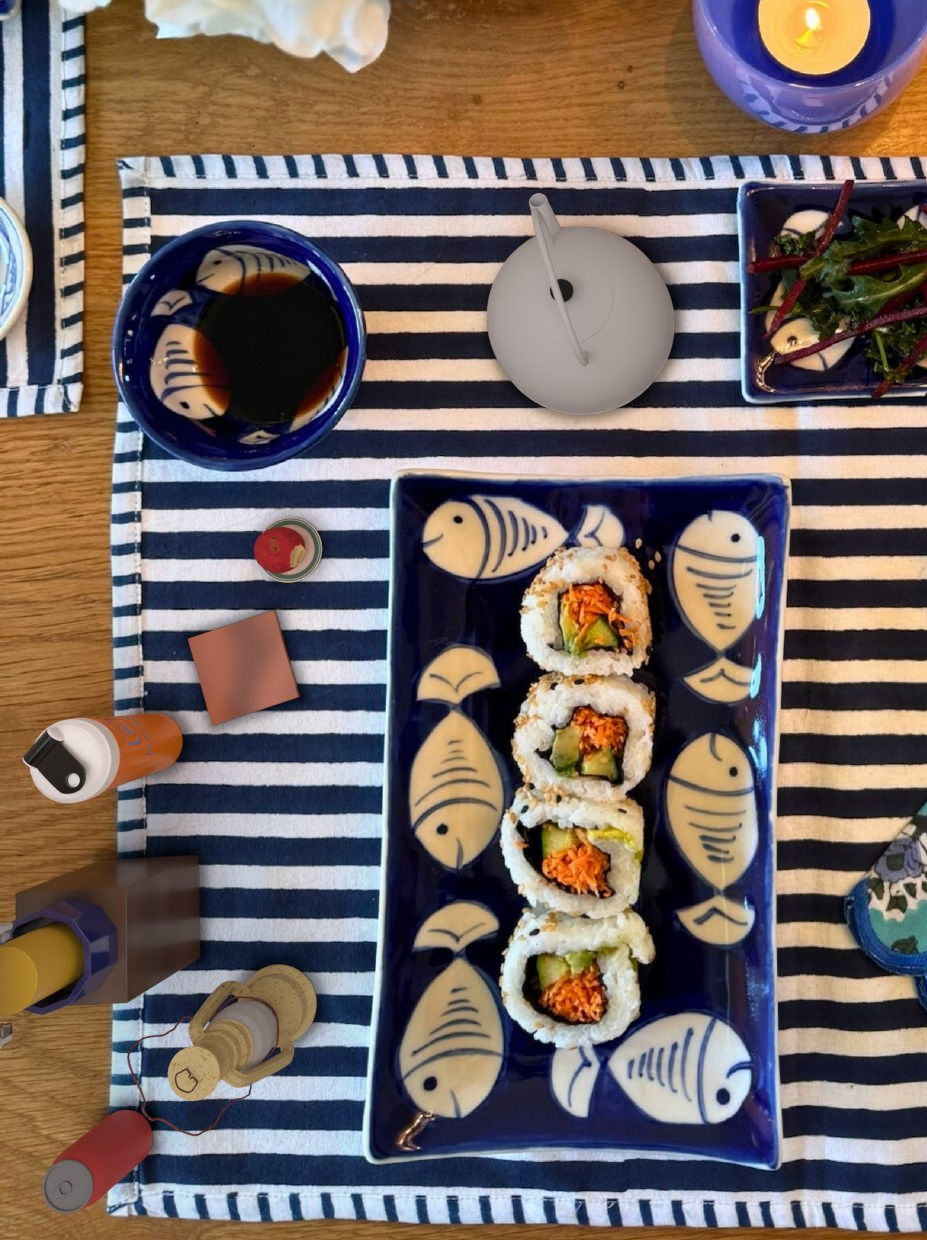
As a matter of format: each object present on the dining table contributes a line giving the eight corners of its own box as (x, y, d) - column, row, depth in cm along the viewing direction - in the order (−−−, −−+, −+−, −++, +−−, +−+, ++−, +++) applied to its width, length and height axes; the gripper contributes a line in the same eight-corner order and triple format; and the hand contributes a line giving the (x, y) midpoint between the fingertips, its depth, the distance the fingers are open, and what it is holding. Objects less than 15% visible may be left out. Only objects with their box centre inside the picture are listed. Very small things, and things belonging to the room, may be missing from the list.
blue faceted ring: (24, 1001, 123) (-7, 1018, 118) (24, 900, 124) (-7, 912, 119) (118, 996, 123) (90, 1012, 118) (117, 894, 124) (90, 907, 119)
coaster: (214, 725, 141) (211, 725, 141) (189, 638, 142) (187, 638, 142) (300, 696, 141) (298, 697, 141) (275, 610, 142) (273, 610, 142)
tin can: (40, 981, 123) (-31, 1018, 112) (40, 917, 124) (-31, 948, 113) (102, 978, 123) (37, 1014, 112) (101, 914, 124) (37, 944, 113)
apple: (313, 509, 143) (292, 504, 137) (331, 571, 143) (310, 569, 136) (251, 529, 143) (227, 525, 137) (268, 591, 143) (245, 590, 136)
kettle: (466, 250, 146) (412, 185, 124) (638, 196, 146) (615, 122, 124) (522, 438, 144) (477, 407, 121) (697, 383, 144) (685, 342, 121)
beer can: (89, 1129, 137) (25, 1179, 125) (136, 1095, 137) (76, 1142, 126) (118, 1177, 137) (57, 1232, 125) (165, 1143, 137) (108, 1195, 125)
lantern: (212, 996, 138) (60, 1104, 108) (274, 938, 139) (140, 1029, 109) (278, 1073, 137) (143, 1203, 108) (340, 1014, 138) (223, 1128, 108)
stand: (101, 963, 139) (15, 1009, 123) (100, 860, 140) (14, 893, 124) (200, 957, 139) (127, 1003, 123) (199, 854, 140) (126, 886, 124)
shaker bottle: (164, 793, 141) (65, 824, 121) (103, 754, 141) (-5, 778, 121) (205, 730, 141) (113, 750, 121) (145, 691, 142) (44, 705, 122)
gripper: (-136, 909, 100) (-26, 872, 114) (-139, 1158, 98) (-27, 1089, 112) (-64, 905, 100) (37, 868, 114) (-66, 1154, 98) (37, 1086, 112)
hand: (5, 980), depth 113 cm, fingers open, 8 cm apart
